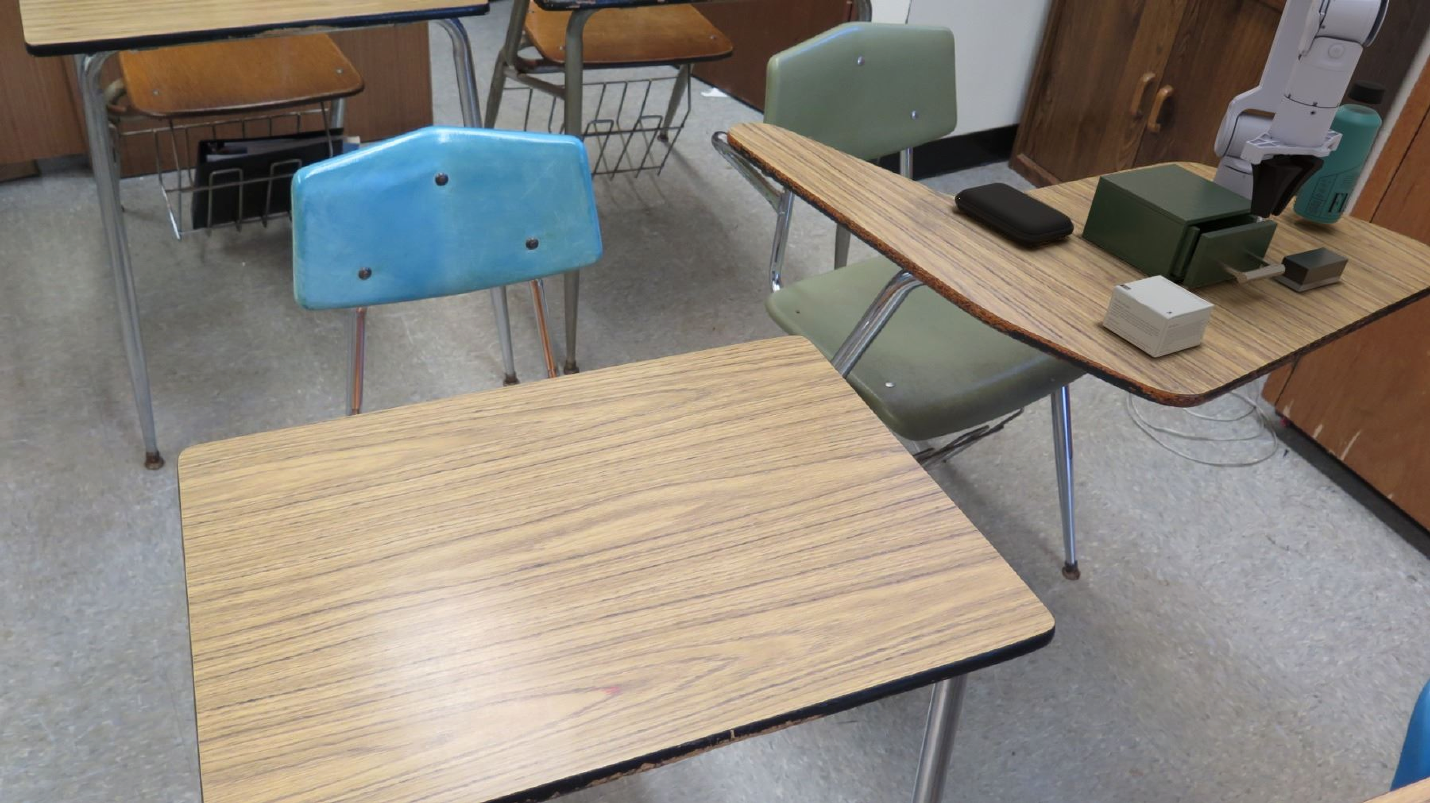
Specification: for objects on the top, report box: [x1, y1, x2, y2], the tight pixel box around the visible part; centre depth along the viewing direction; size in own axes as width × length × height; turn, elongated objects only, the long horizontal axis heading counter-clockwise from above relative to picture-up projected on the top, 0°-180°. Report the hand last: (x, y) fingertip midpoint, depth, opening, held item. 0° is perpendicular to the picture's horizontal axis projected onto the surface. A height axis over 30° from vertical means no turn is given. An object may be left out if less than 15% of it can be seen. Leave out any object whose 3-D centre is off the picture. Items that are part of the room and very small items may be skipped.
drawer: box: [1171, 213, 1285, 289], centre depth 133 cm, size 18×13×7 cm
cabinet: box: [1081, 163, 1258, 283], centre depth 137 cm, size 14×14×8 cm
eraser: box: [1274, 246, 1349, 293], centre depth 135 cm, size 8×4×3 cm, turn 119°
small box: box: [1102, 275, 1215, 358], centre depth 119 cm, size 8×8×5 cm
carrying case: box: [954, 182, 1075, 248], centre depth 142 cm, size 11×3×15 cm
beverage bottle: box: [1292, 79, 1387, 225], centre depth 146 cm, size 6×7×20 cm
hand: (1264, 213), depth 126 cm, fingers closed
